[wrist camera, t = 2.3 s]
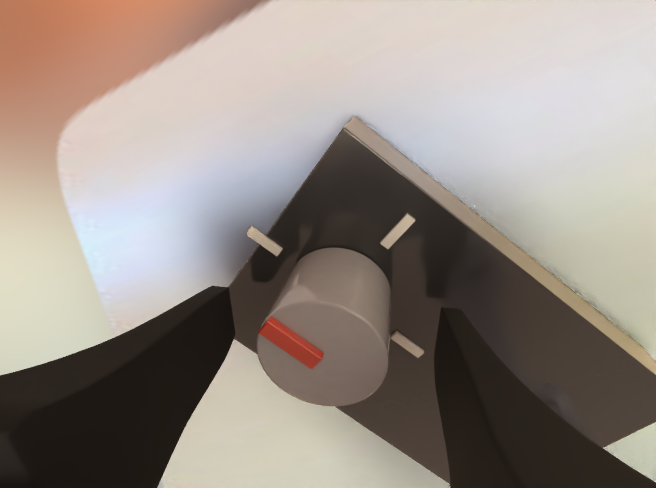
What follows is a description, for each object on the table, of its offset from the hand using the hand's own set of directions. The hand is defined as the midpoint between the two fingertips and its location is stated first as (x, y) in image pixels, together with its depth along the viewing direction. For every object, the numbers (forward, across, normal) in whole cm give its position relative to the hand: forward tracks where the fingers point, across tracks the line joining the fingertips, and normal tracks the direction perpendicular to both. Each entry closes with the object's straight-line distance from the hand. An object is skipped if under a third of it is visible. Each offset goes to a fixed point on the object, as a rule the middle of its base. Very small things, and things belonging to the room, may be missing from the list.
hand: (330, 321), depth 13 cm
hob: (+5, -4, +3) cm, 7 cm away
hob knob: (+2, 0, 0) cm, 2 cm away
